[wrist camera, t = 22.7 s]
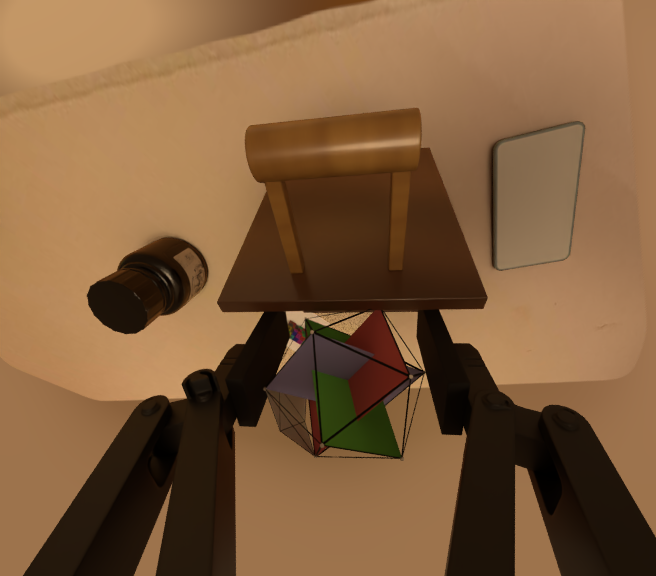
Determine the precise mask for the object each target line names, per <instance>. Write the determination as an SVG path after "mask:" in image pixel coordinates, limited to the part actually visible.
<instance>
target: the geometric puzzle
mask: <svg viewBox="0 0 656 576" xmlns="http://www.w3.org/2000/svg"><path fill="white" fill-rule="evenodd" d="M369 310H372V309H368V310H366V311H363V312H360V313H358V314H355V315H353V316H350V317H348V318H345V319H343V320H340V321H338V322H335V323H332V324H330V325H327V326H325V325H322V324H319V323H317V322H314V321H312V320H309V319H310V318H306V317H305V318H304V321H305V341H304V342H303V343H302V345H301V346H300V347H299V348H298V349H297V351H296V352H295V353H294V354H293V355H292V357H291V358H290V359H289V360H288V361H287V362H286V364H285V365H284V366H283V367H282V368H281V370H280V371H279V372H278V373H277V374H276V376H275V377H274V378H273V379H272V380H271V379H270V380H271V382H270V380H269V382H270V383H269V382H268V383H269V384H267V386H266V387H264V388H263V390H264V391H266V394H267V397H268V399H269V402H270V405H271V408H272V410H273V413H274V416H275V419H276V422H277V424H278V427H279V430H280V432H282V433H283V434H284V435H286V436H287V437H289V438H290V439H291V440H293V441H294V442H296V443H297V444H299V445H300V446H301V447H303V448H304V449H305V450H306V451H308V452H309V453H311V454H312V455H313V456H314V458H317V457H323V456H318V455H320V454H321V453H323V452H324V451H325V450H327V449H328V448H329V447H332V448H339V449H345V450H351V451H357V452H363V453H369V454H376V455H381V456H387V457H394V459H400V460H401V461H403V460H404V458H403V453H404V450H403V448H405V447H404V439H405V430H406V421H407V412H408V403H409V393H410V385H411V384H412V383H413V382H415V381H416V380H417V379H418V378H419V377H421V376H422V375H423V377H424V374H425V373H426V372H425V371H423V369H422V368H421V366H420V365H419V363H418V362H417V360H416V359H415V357H414V356H413V354H412V353H411V351H410V350H409V348H408V347H407V345H406V344H405V342H404V341H403V339H402V338H401V336H400V335H399V333H398V332H397V330H396V329H395V327H394V326H393V324H392V323H391V321H390V320H389V318H388V317H387V315H386V314H385V312H384V311H383V310H375V311H374V312H373V313H372V314H371V315H370V316H369V317H368V318H367V319H366V320H365V321H364V323H363V324H362V325H361V326H360V327H359V328H358V329H357V330H356V331H355V332H354V333H353V334H352V335H348V334H346V333H343V332H340V331H338V330H335V329H333V328H330V327H329V326H332V325H334V324H337V323H339V322H342V321H344V320H347V319H349V318H352V317H354V316H357V315H359V314H362V313H364V312H367V311H369ZM345 312H349V311H345ZM383 312H384V313H383ZM340 313H343V312H340ZM334 314H338V313H334ZM384 314H385V315H386V317H387V318H388V320H389V321H390V323H391V324H392V326H393V327H394V329H395V330H396V332H397V333H398V335H399V336H400V338H401V339H402V341H403V342H404V344H405V345H406V347H407V348H408V350H409V351H410V353H411V354H412V356H413V357H414V359H415V360H416V362H417V363H418V365H419V366H420V368H421V369H422V370H420V369H419V368H417V367H415V366H413V365H411V364H409V363H407V362H405V361H404V359H403V357H402V354H401V352H400V350H399V348H398V345H397V343H396V341H395V338H394V336H393V334H392V332H391V329H390V327H389V325H388V323H387V320H386V318H385V316H384ZM328 315H332V314H328ZM323 316H327V315H323ZM317 317H321V316H317ZM312 318H315V317H312ZM303 323H304V322H303ZM303 323H302V324H303ZM301 326H302V325H301ZM300 328H301V327H300ZM306 329H307V331H306ZM299 330H300V329H299ZM299 330H298V331H299ZM297 333H298V332H297ZM296 335H297V334H296ZM307 336H308V337H307ZM295 337H296V336H295ZM295 337H294V338H295ZM293 340H294V339H293ZM292 342H293V341H292ZM292 342H291V343H292ZM290 345H291V344H290ZM289 347H290V346H289ZM288 349H289V348H288ZM288 349H287V350H288ZM286 352H287V351H286ZM285 354H286V353H285ZM284 356H285V355H284ZM284 356H283V357H284ZM282 359H283V358H282ZM281 361H282V360H281ZM281 361H280V363H281ZM280 363H279V364H280ZM406 364H407V365H409V366H411V367H413V368H411V367H408V366H406ZM278 366H279V365H278ZM277 368H278V367H277ZM277 368H276V369H277ZM414 368H415V369H414ZM416 369H417V370H416ZM275 371H276V370H275ZM274 373H275V372H274ZM273 375H274V374H273ZM273 375H272V376H273ZM271 378H272V377H271ZM422 380H423V378H422ZM421 384H422V382H421ZM407 387H409V390H408V400H407V409H406V419H405V428H404V437H403V447H402V455H401V454H400V451H399V448H398V445H397V442H396V439H395V436H394V433H393V429H392V426H391V424H390V420H389V417H388V414H387V411H386V408H385V405H387V404H388V403H389V402H390V401H392V400H393V399H394V398H395V397H396V396H398V395H399V394H400V393H401V392H402V391H404V390H405V389H406V388H407ZM420 388H421V386H420ZM419 392H420V389H419ZM418 396H419V393H418ZM306 399H308V400H309V408H310V418H311V427H312V434H310V432H308V430H307V427H306V423H305V414H306V413H305V412H306ZM417 399H418V397H417ZM416 403H417V402H416ZM415 407H416V406H415ZM414 411H415V408H414ZM413 414H414V413H413ZM412 418H413V417H412ZM411 423H412V420H411ZM410 427H411V424H410ZM409 430H410V428H409ZM308 433H309V434H310V435H311V436H312V437H313V446H314V451H313V447H312V444H311V440H310V437H309V434H308ZM408 434H409V432H408ZM407 438H408V435H407ZM406 442H407V439H406ZM405 445H406V443H405ZM325 448H326V449H325ZM324 457H325V456H324ZM343 458H344V457H343ZM345 458H346V457H345ZM347 458H376V457H347ZM377 458H379V457H377ZM380 458H381V457H380ZM382 458H383V457H382ZM391 459H393V458H391Z"/></svg>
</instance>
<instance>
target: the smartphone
mask: <svg viewBox="0 0 656 576" xmlns="http://www.w3.org/2000/svg"><path fill="white" fill-rule="evenodd" d="M584 133H585V125H584V124H583V123H582V122H579V121H576V122H571V123H567V124H563V125H559V126H555V127H551V128H547V129H543V130H539V131H535V132H531V133H527V134H523V135H519V136H515V137H511V138H507V139H503V140H500V141H498V142H497V143H496V144H495V146H494V148H493V265H494V267H495V268H496V269H497V270H501V271H502V270H508V269H514V268H520V267H526V266H532V265H538V264H544V263H550V262H557V261H562V260H565V259H567V258H568V257H569V255H570V251H571V243H572V235H573V226H574V218H575V209H576V201H577V192H578V184H579V176H580V167H581V159H582V150H583V142H584Z"/></svg>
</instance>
